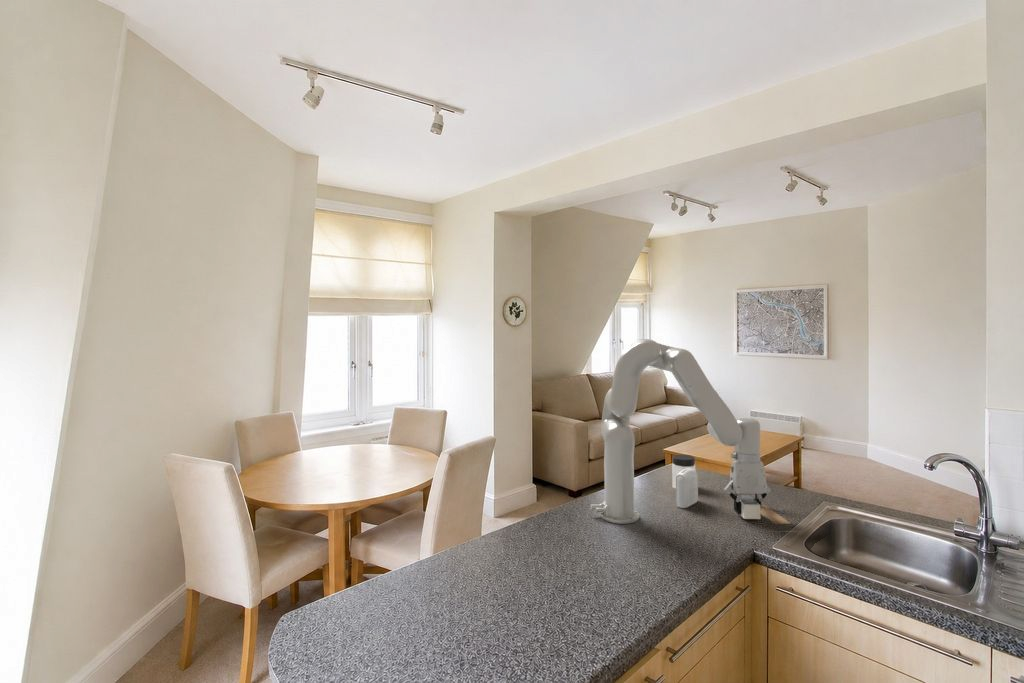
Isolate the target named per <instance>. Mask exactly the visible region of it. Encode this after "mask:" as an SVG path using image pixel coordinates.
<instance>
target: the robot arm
mask: <svg viewBox="0 0 1024 683" xmlns="http://www.w3.org/2000/svg"><path fill="white" fill-rule="evenodd" d="M648 367H651V368H656V369H659V370H663V371H666V372H670V373H671V374H672V375H673V377H674V378H675V380H676V382H677V383H678V385H679V387H680V388H681V390H682V391H683V393H684V395H685V397H686V398H687V400H688V401H689V402H690V403H691V404H692V405H693V406H694V408H696V409H697V410H698V411H699V412H701V414H702V415H703V416H704V417H705V419H706V420H707V421H708V423H707V425H706V429H707V433H708V434H709V436H710V437H712V439H714V440H716V441H717V442H719V443H721V445H724V446H726V447H733V446H734V450H733V453H730V454H729V455H730V456H729V457H730V459H733V460H732V462H731V467H730V471H729V472H730V473H729V474H730V475H729V482H728V483H727V485H726V486H725V487H724V488H723V491H724V492H725V493H726V494H727V495H728V496H729V497H730V498H731V499H732V500H733V509H734V512H736V513H737V514H738V515H740V516H741V502H740V499H741V495H753V496H754V498H753V499H754V500H756V501H757V502H758V504H759V505H760V510H761V505H762V502H763V501H764V499H765V498H766V497H767V495H769V494H770V493H771V492H772V489H771V487H769V485H768V484H767V477H766V471H765V465H764V462H763V461H761V424H760V423H761V422H759V421H758V420H757V419H754V418H747V417H746V418H745V417H743V418H736V417H735V416H734V414H733V413H732V411H731V409H730V408H729V407H728V405H727V404H726V403H725V402H724V400H723V399H722V397H721V396H720V395H719V393H718V392H717V391H716V389H715V388H714V387H713V385H712V384H711V383H710V380H709V379H708V378H707V375H705V373H704V371H703V369H702V367H701V366H700V364H699V363H698V361H697V359H696V358H695V356H694V355H693V354H692V353H691V351H690V350H687V349H685V348H679V347H675V346H674V347H673V346H669V345H667V344H662V343H659V342H656V341H655V340H653V339H649V338H639V339H636V340H634V341H633V342H632V343H631V344H630V347H628V348H627V349H626V350H625V351H623V353H622V354H621V356H619V358H618V359H617V362H616V365H615V368H614V372H613V379H612V384H611V387H610V389H609V390H608V391H607V392H606V394H605V397H604V401H603V408H602V415H601V424H600V425H601V426H600V433H601V436H602V438H603V443H604V450H603V452H604V453H603V470H604V471H603V472H604V473H603V474H604V478H603V479H604V500H602V502H600V503H598V504H596V503H591V504H590V510H591V511H595V513H599V514H600V518H601V519H602V520H604V521H606V522H609V523H613V524H618V525H619V524H623V525H625V524H632V523H636V522H637V521H638V520H639V519H640V513H639V511H638V510H635V469H634V468H635V467H634V466H635V465H634V464H635V463H634V457H635V445H636V442H635V441H636V439H635V438H636V437H635V434H634V433H635V432H634V431H633V429H632V427H631V426H630V419H631V416H632V415H633V414H634V413H635V412H636V410H637V406H638V398H639V397H638V396H639V387H640V382H641V378H642V374H643V372H644V371H645V370H646V368H648ZM732 491H733V492H732Z"/></svg>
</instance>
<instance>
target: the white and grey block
mask: <svg viewBox="0 0 1024 683" xmlns="http://www.w3.org/2000/svg"><path fill="white" fill-rule="evenodd" d="M754 499H755V498H753V496H751V495H747V494H742V495H741V499H740V502H741V515H740V516H741V518H743V519H744V520H761V518H762V517H761V515H762V514H761V513H760V505H759V504H758V502H757V501H756V500H754Z"/></svg>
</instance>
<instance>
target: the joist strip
mask: <svg viewBox="0 0 1024 683" xmlns="http://www.w3.org/2000/svg"><path fill="white" fill-rule="evenodd" d="M760 513H761V515H762V516H764V517H765V518H766V519H768V520H769V521H770V522H772V524H774V525H784V524H786V525H788V524H790V525H791V524H792V523H791V522H790V521H788V520H787V519H785V518H784V517H783V516H781V515H779V514H778V513H777V512H776V511H774V510H773V509H771V508H769V507H768V506H767V505H765V504H761V510H760Z"/></svg>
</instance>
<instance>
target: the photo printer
mask: <svg viewBox="0 0 1024 683" xmlns="http://www.w3.org/2000/svg"><path fill="white" fill-rule="evenodd" d="M698 487H699V474H698V472H697V470H696V469H695V470H694V469H691V468H687V469H684V470H682V471H681V472H679V473H678V475H677V476H676V489H675V505H676V507H678V508H680V509H686V508H689V507H691V506H692V505H695V504H697V502H698V500H699V488H698Z"/></svg>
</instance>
